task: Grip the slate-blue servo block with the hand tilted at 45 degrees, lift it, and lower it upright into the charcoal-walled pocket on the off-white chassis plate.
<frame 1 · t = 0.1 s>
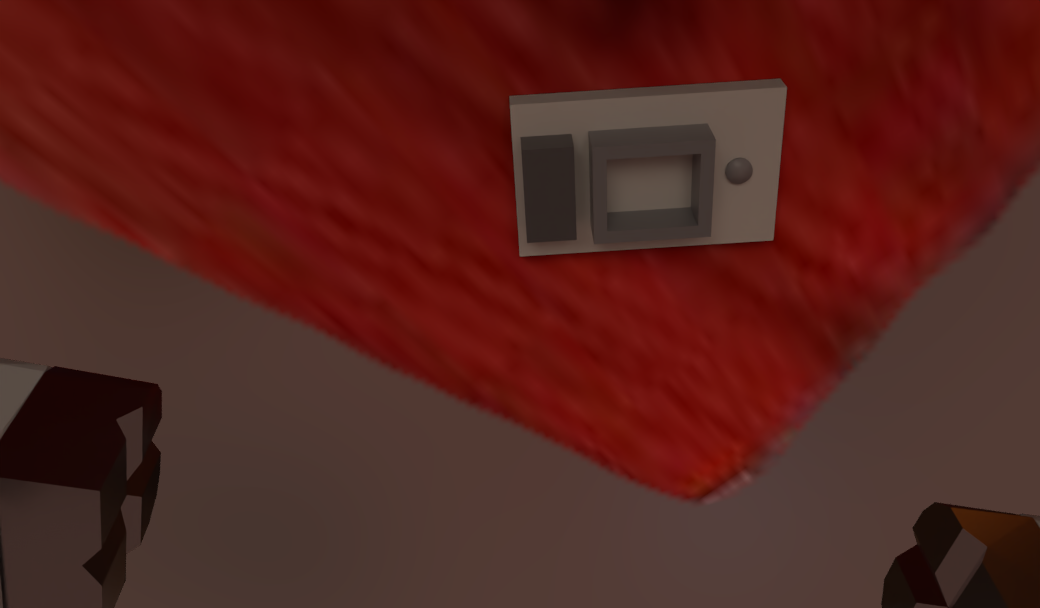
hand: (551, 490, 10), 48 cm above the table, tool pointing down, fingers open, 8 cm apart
chassis: (643, 165, 60), on the table
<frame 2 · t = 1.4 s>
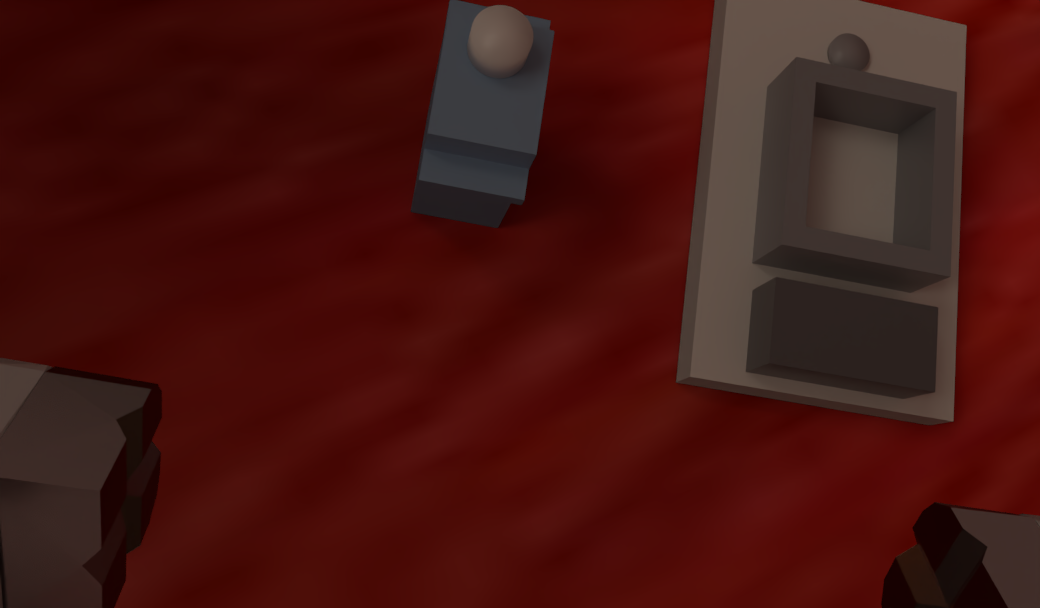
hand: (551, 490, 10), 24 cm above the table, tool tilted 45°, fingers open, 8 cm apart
servo: (462, 168, 36), on the table
chassis: (819, 201, 38), on the table
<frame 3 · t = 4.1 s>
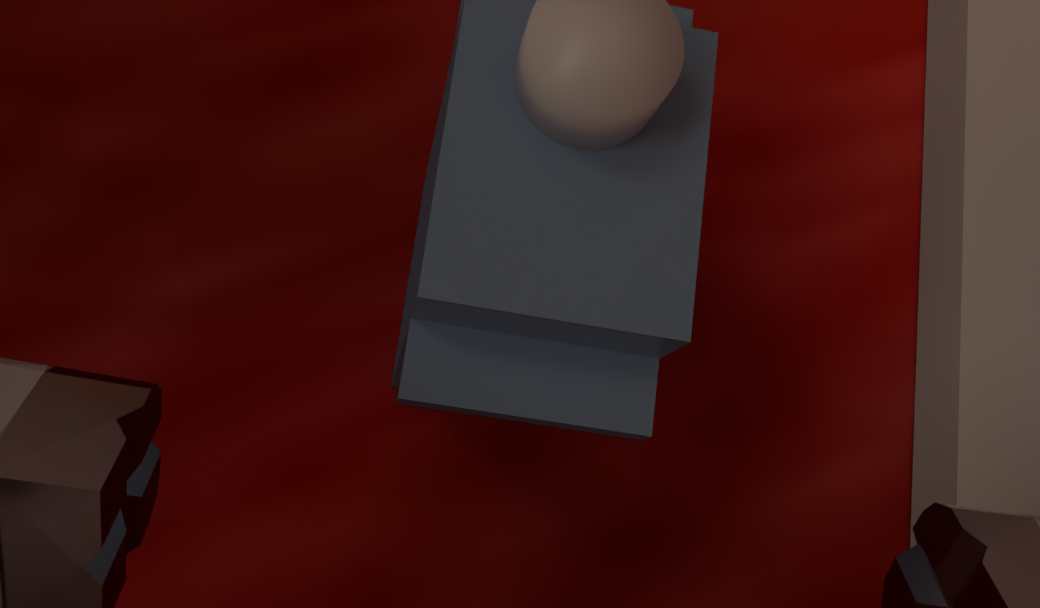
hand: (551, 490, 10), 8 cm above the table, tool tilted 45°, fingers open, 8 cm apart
servo: (490, 297, 19), on the table
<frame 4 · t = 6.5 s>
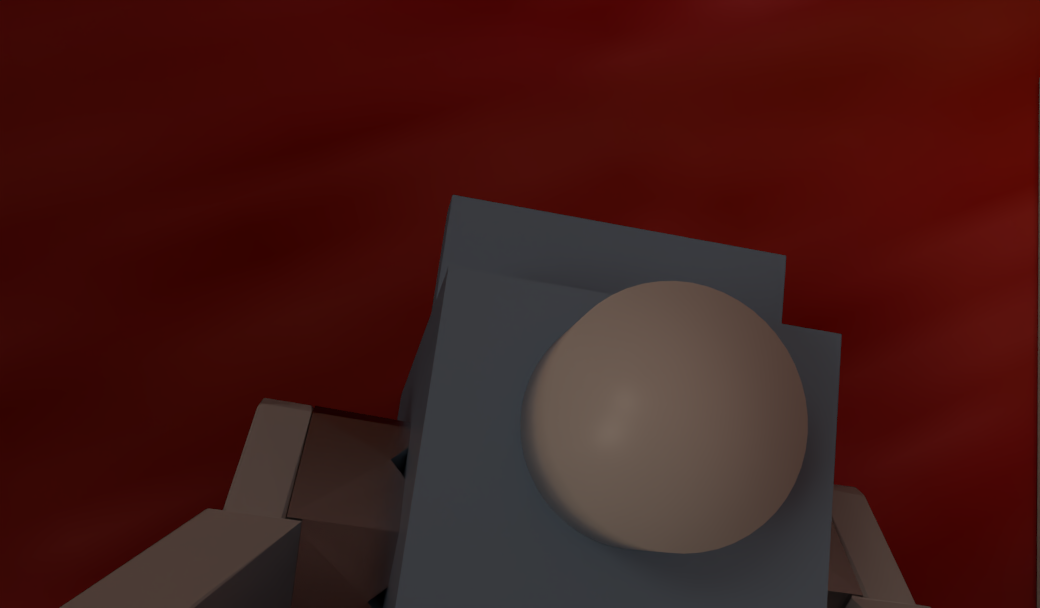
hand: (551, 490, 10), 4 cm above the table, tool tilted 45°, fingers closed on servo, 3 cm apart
servo: (487, 544, 14), on the table, touching gripper
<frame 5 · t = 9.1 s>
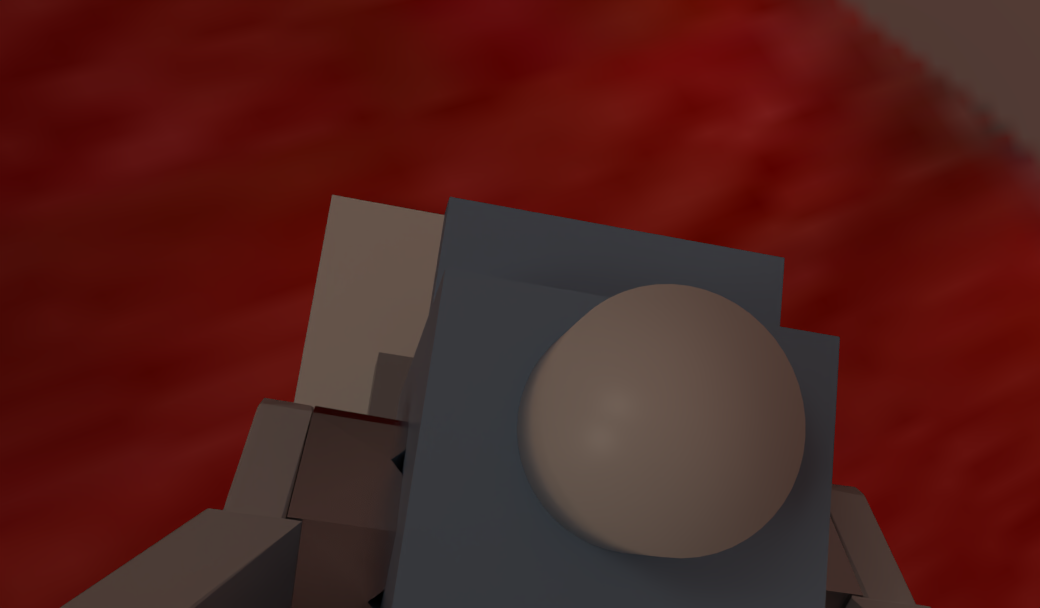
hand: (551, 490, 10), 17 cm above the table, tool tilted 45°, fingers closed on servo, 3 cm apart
servo: (486, 546, 14), point 13 cm above the table, touching gripper
chassis: (464, 516, 27), on the table
when the fingers open (7 cm above the table, at t = 12.1 s): servo drops 1 cm, resting on chassis.
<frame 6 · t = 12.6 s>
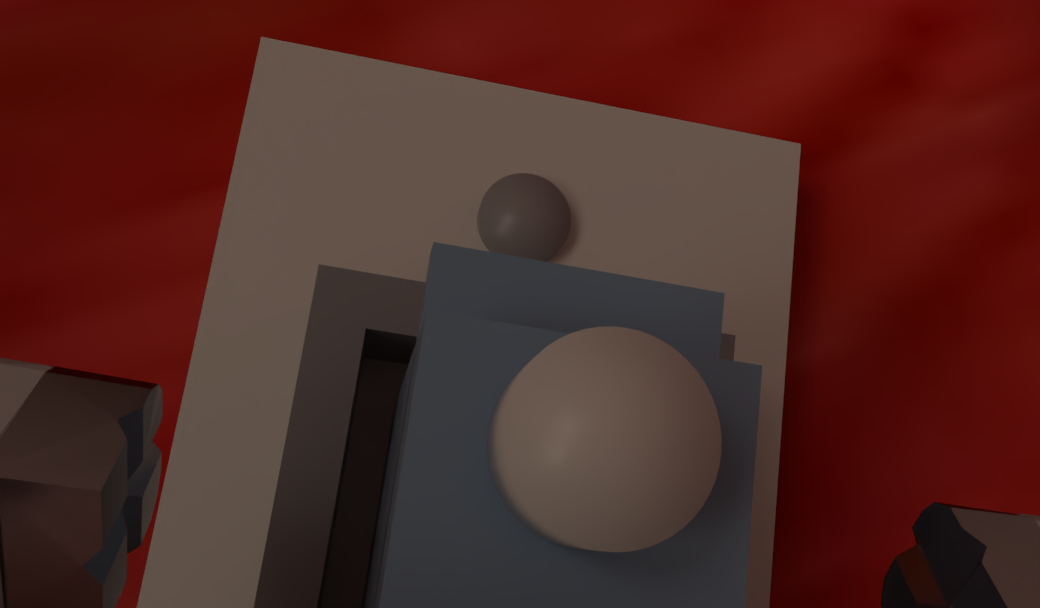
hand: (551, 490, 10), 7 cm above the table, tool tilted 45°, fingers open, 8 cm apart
servo: (472, 544, 16), point 1 cm above the table, touching chassis
chassis: (467, 541, 17), on the table
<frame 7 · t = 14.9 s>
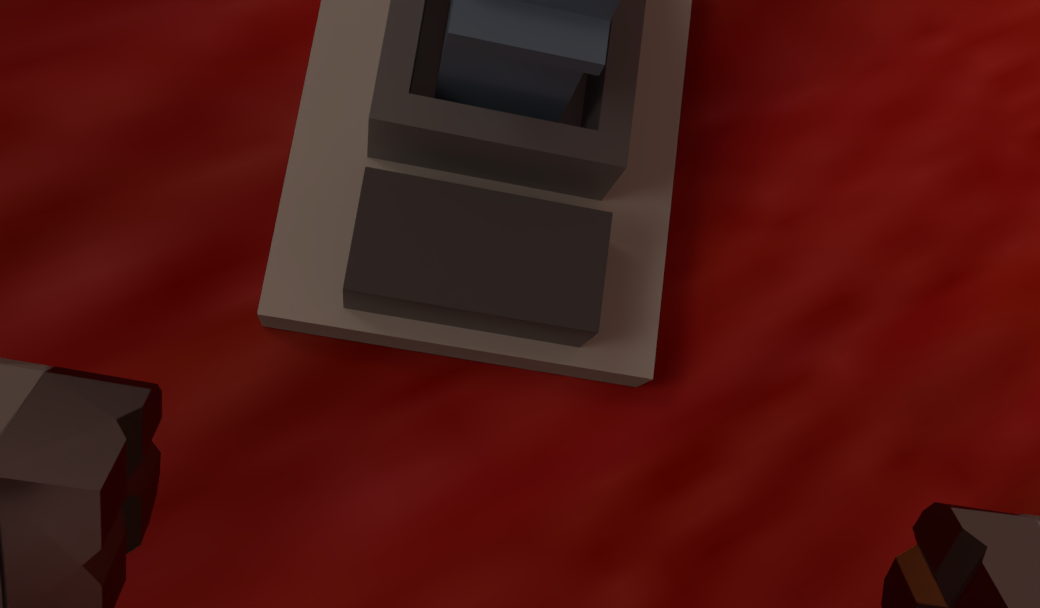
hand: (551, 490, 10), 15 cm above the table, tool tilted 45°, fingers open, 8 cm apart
servo: (501, 58, 26), point 1 cm above the table, touching chassis
chassis: (496, 82, 28), on the table
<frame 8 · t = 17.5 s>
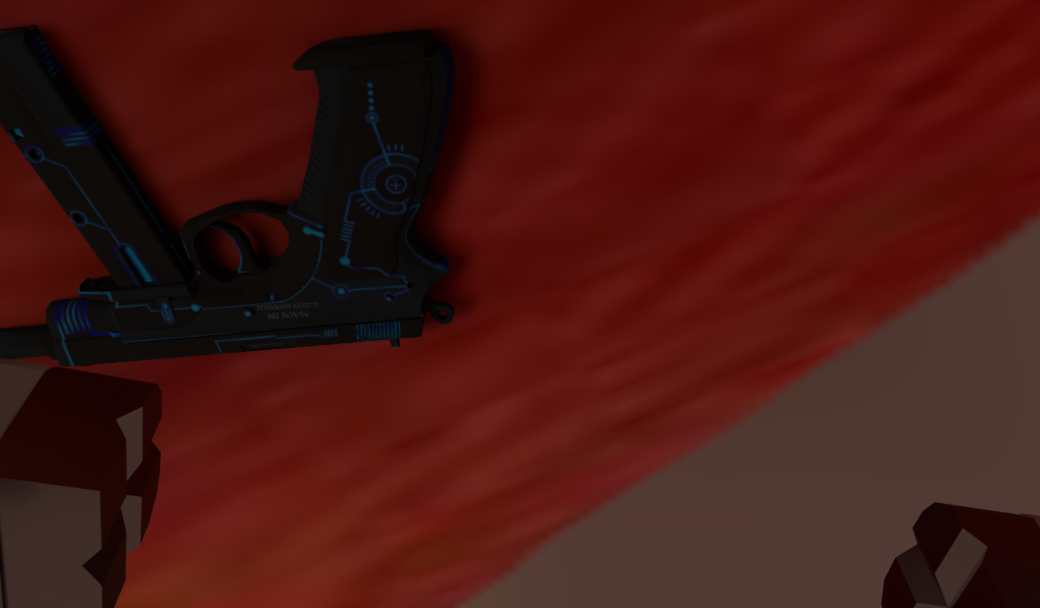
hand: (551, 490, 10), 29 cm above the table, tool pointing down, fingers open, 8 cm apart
gun: (188, 189, 41), on the table
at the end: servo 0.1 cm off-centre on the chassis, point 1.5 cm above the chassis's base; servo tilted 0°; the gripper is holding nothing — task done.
